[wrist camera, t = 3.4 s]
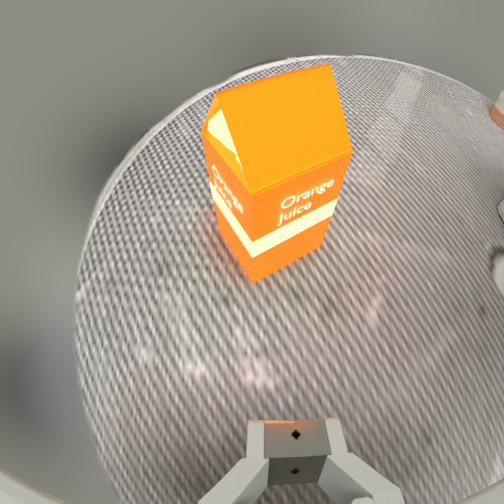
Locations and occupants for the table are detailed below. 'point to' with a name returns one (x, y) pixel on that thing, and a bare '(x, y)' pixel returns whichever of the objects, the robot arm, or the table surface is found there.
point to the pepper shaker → (498, 110)
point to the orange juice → (276, 165)
